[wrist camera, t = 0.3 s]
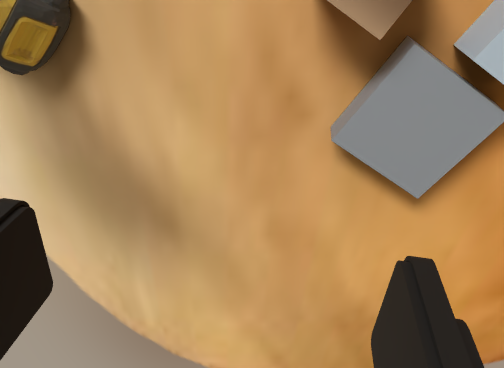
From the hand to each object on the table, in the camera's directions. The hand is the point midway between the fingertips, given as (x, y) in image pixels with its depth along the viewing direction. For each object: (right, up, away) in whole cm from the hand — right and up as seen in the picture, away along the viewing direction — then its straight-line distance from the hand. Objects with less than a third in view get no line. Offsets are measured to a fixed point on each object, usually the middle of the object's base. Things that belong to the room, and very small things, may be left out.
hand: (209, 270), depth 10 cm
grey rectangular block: (+15, +8, +26) cm, 31 cm away
